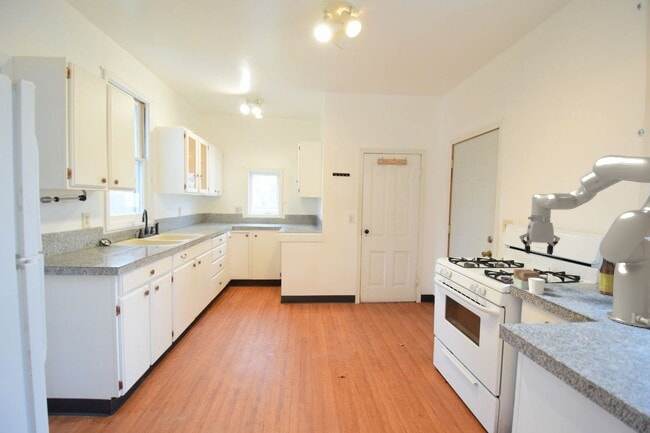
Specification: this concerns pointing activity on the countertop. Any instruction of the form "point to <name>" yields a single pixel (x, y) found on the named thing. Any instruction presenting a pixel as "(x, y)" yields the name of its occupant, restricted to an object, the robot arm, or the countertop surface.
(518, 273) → the upper block
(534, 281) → the shot glass
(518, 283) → the lower block
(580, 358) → the countertop surface
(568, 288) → the countertop surface
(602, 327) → the countertop surface
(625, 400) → the countertop surface
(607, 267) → the sauce bottle
